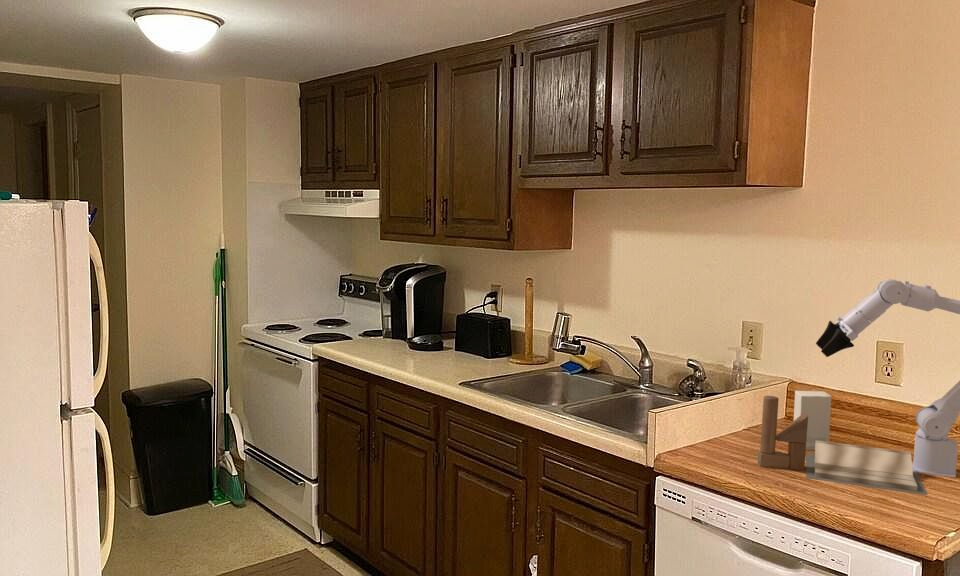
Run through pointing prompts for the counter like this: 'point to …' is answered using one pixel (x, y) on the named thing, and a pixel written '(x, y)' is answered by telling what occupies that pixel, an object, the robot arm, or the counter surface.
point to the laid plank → (865, 477)
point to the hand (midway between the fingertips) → (821, 350)
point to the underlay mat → (811, 475)
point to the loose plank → (863, 458)
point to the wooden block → (781, 439)
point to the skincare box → (814, 415)
